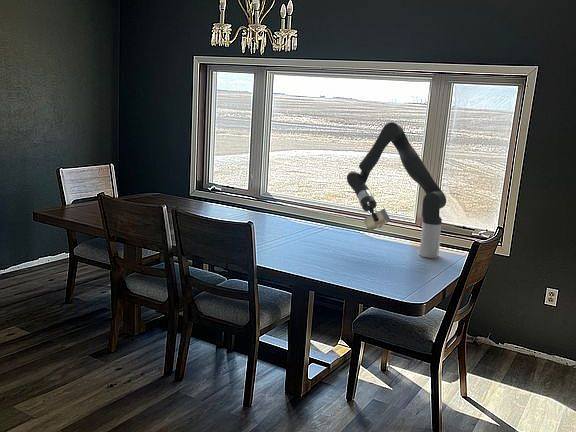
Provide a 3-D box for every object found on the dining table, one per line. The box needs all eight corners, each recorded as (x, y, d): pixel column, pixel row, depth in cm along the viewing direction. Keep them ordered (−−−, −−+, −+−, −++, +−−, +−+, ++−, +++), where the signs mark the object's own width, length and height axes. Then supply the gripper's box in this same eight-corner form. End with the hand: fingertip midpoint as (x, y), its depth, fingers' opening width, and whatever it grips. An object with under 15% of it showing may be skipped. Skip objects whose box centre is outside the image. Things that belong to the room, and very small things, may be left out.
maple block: (365, 224, 298) (387, 213, 296) (369, 231, 295) (390, 220, 293) (362, 219, 294) (384, 208, 292) (366, 226, 291) (388, 215, 289)
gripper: (369, 189, 297) (381, 212, 286) (377, 204, 308) (389, 228, 296) (355, 196, 298) (367, 219, 287) (364, 211, 309) (376, 234, 298)
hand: (378, 223), depth 292 cm, fingers closed on maple block, 5 cm apart
